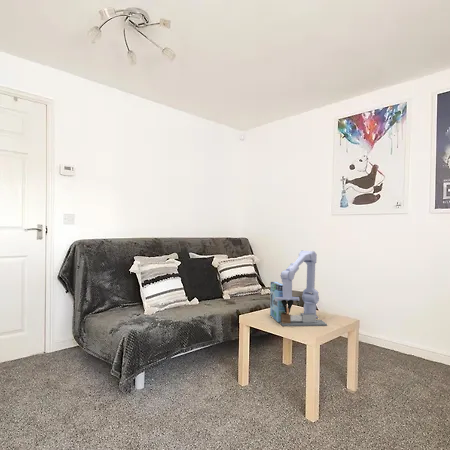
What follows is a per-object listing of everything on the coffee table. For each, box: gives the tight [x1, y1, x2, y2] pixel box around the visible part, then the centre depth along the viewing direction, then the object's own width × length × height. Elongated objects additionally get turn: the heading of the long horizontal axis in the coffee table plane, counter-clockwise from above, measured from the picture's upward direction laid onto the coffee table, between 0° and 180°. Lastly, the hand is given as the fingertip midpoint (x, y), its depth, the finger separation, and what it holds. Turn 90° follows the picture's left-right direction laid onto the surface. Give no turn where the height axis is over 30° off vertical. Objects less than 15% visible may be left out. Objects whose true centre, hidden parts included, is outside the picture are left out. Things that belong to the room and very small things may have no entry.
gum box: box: [269, 281, 285, 324], centre depth 214 cm, size 20×5×23 cm, turn 7°
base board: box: [279, 319, 328, 327], centre depth 202 cm, size 10×27×1 cm, turn 93°
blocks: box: [286, 307, 302, 321], centre depth 202 cm, size 3×14×8 cm, turn 93°
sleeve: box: [299, 312, 317, 323], centre depth 202 cm, size 5×8×5 cm, turn 93°
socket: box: [281, 313, 291, 323], centre depth 202 cm, size 5×5×5 cm
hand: (287, 312), depth 202 cm, fingers closed on blocks
